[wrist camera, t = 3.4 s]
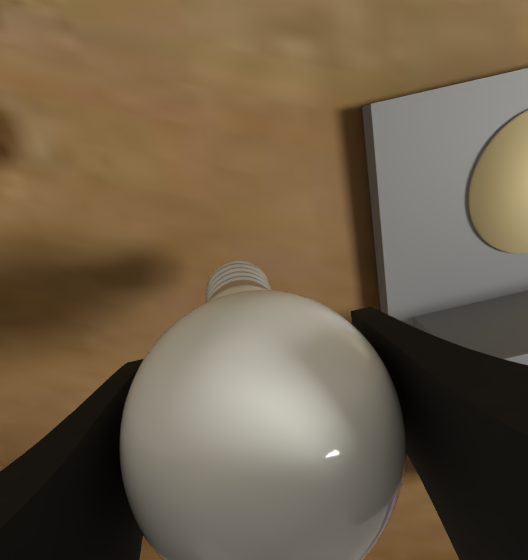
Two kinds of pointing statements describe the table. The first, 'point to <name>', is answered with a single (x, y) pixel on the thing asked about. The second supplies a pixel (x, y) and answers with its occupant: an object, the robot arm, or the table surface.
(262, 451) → the lightbulb
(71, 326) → the table surface
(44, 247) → the table surface
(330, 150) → the table surface
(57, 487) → the robot arm
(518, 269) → the lamp base
